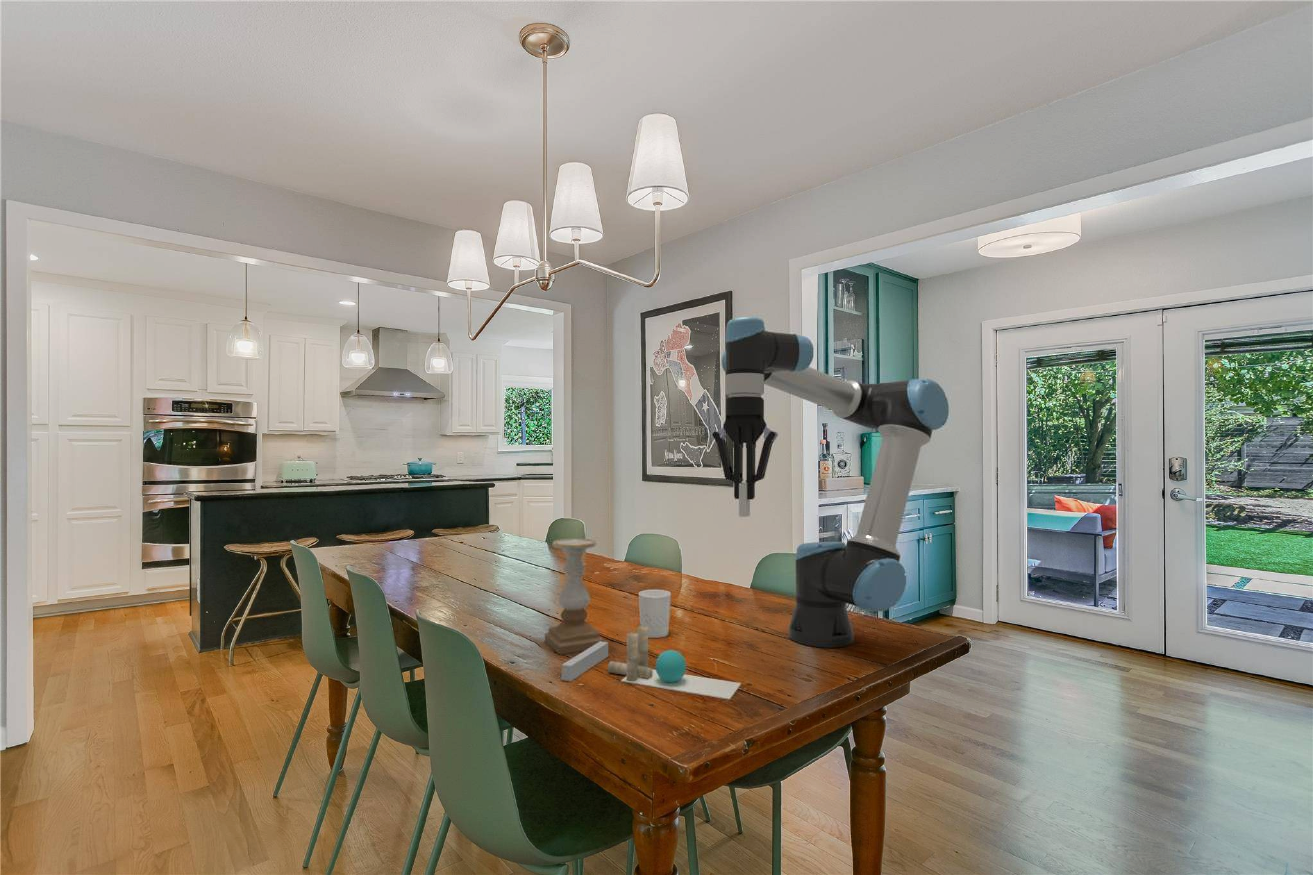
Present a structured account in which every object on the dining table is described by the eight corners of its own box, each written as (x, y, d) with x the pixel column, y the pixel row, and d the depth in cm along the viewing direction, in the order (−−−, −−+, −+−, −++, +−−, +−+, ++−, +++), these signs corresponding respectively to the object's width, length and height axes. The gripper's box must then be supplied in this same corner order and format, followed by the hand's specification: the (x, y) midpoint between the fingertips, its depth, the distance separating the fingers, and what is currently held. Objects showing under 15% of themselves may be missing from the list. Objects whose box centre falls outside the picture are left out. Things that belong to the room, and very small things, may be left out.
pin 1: (639, 679, 123) (639, 633, 123) (634, 682, 121) (634, 636, 121) (629, 677, 124) (629, 632, 124) (624, 681, 122) (624, 635, 122)
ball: (664, 644, 126) (659, 673, 125) (653, 650, 120) (648, 681, 120) (692, 651, 124) (687, 681, 123) (682, 657, 118) (677, 689, 118)
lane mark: (741, 684, 120) (741, 683, 120) (729, 699, 113) (729, 698, 113) (637, 668, 129) (637, 667, 129) (621, 681, 122) (621, 680, 122)
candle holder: (558, 655, 137) (559, 546, 137) (543, 641, 146) (544, 539, 147) (604, 647, 142) (605, 543, 142) (587, 634, 152) (588, 536, 152)
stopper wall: (608, 656, 136) (608, 642, 136) (570, 681, 121) (570, 666, 121) (600, 654, 137) (600, 641, 137) (561, 679, 122) (561, 664, 122)
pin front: (651, 665, 124) (611, 658, 127) (647, 673, 122) (607, 666, 126) (653, 674, 124) (614, 667, 128) (649, 682, 123) (609, 674, 126)
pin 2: (649, 670, 128) (649, 626, 128) (645, 674, 126) (645, 629, 126) (639, 669, 128) (640, 625, 129) (635, 672, 126) (635, 628, 126)
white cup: (671, 629, 156) (672, 589, 156) (669, 639, 148) (669, 597, 148) (640, 628, 157) (640, 589, 157) (636, 638, 149) (636, 596, 149)
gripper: (781, 397, 124) (781, 515, 124) (718, 398, 129) (718, 512, 129) (773, 394, 117) (773, 519, 117) (707, 396, 122) (707, 516, 122)
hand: (744, 515), depth 123 cm, fingers closed
